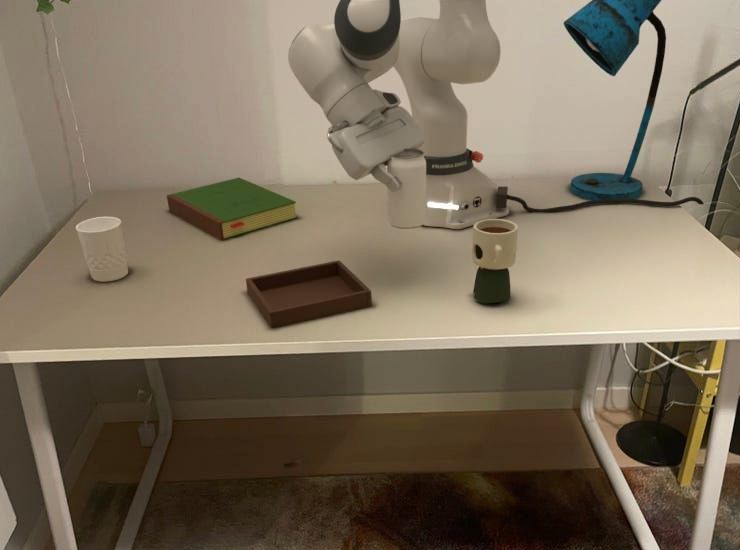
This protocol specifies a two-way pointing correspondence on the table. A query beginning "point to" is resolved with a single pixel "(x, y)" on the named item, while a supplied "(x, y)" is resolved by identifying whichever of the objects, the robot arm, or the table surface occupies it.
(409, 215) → the can
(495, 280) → the character mug
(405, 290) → the table surface
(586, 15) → the desk lamp
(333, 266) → the tray
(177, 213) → the hardcover book
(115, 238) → the white cup
